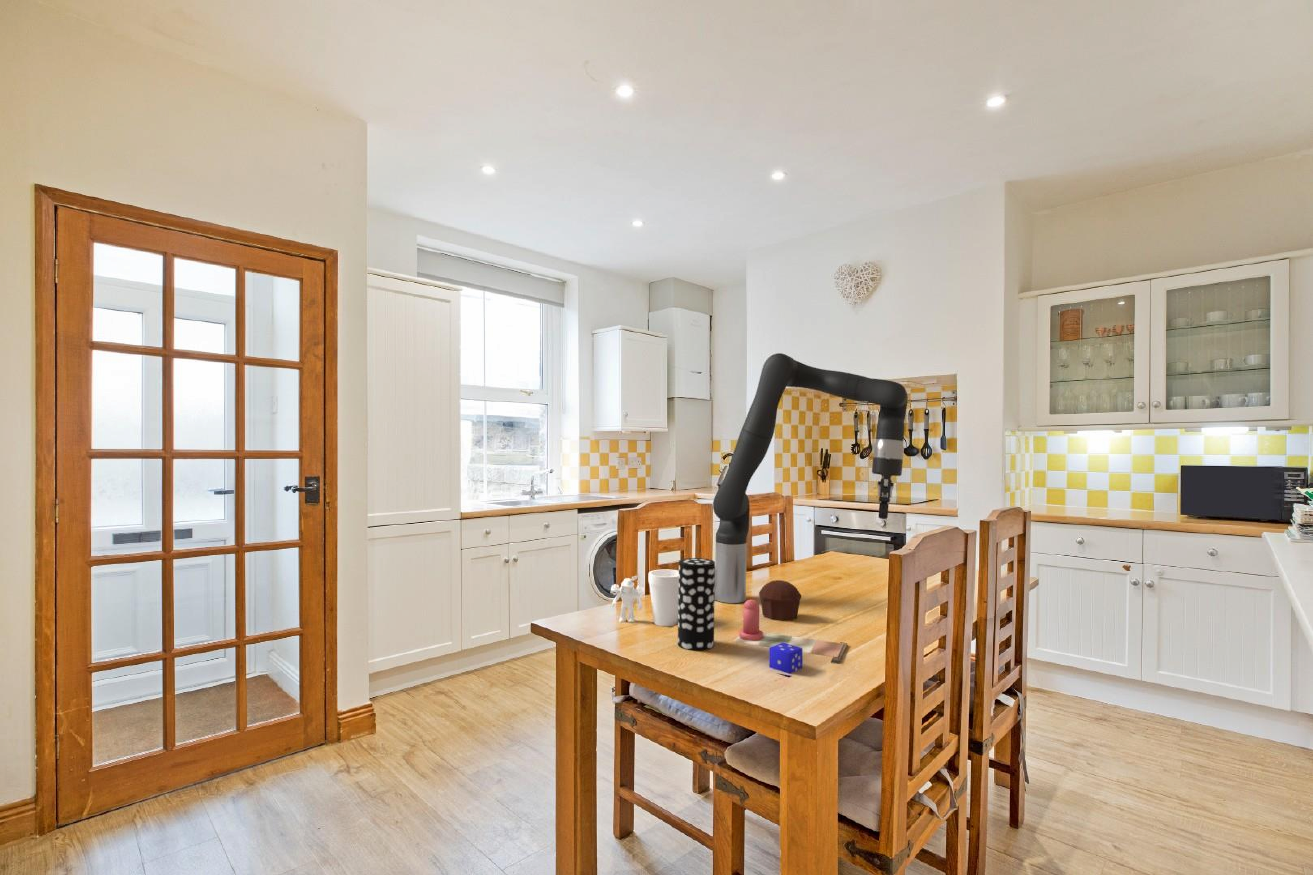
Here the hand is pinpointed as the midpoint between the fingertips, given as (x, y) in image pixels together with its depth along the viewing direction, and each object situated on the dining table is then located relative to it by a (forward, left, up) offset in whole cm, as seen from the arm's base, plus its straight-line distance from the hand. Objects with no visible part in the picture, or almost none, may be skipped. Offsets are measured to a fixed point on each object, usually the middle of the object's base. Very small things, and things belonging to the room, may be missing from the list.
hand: (882, 517), depth 169 cm
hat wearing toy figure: (-61, -30, -28) cm, 73 cm away
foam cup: (-51, -27, -28) cm, 64 cm away
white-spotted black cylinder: (-37, -42, -28) cm, 62 cm away
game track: (-18, -31, -28) cm, 45 cm away
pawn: (-27, -31, -27) cm, 49 cm away
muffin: (-25, -10, -28) cm, 39 cm away
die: (-15, -47, -28) cm, 56 cm away
